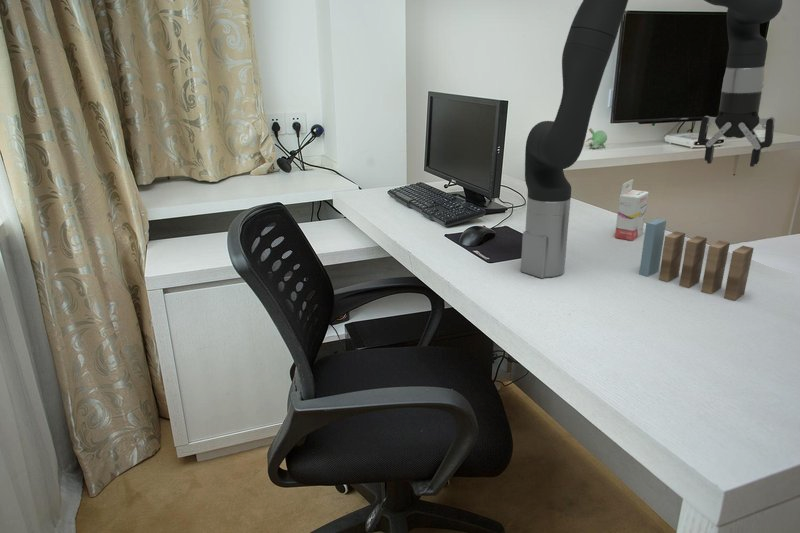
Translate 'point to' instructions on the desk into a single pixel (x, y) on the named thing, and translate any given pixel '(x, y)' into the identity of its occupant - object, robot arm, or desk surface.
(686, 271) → the tile
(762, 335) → the desk surface
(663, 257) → the tile
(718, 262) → the tile
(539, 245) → the robot arm
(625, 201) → the ink cartridge box
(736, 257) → the tile
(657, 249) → the end tile
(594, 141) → the frog
